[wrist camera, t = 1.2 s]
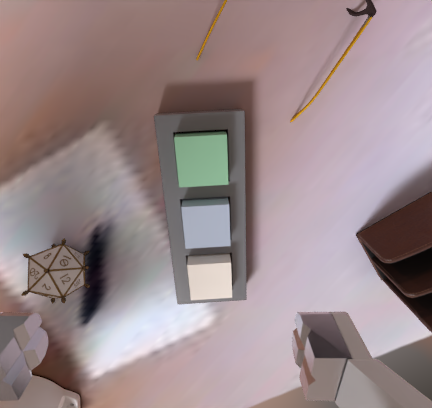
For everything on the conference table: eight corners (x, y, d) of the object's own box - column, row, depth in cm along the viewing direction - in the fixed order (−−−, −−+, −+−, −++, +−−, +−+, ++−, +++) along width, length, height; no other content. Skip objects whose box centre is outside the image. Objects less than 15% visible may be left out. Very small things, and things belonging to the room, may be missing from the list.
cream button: (230, 284, 44) (232, 297, 42) (191, 286, 44) (190, 300, 41) (229, 250, 42) (231, 262, 39) (188, 253, 42) (187, 265, 39)
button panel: (243, 287, 47) (246, 299, 44) (179, 291, 47) (177, 304, 44) (241, 108, 36) (244, 110, 34) (157, 113, 36) (153, 115, 34)
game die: (71, 250, 48) (7, 290, 41) (68, 215, 42) (-8, 254, 35) (109, 284, 45) (47, 333, 38) (110, 252, 39) (38, 302, 32)
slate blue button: (228, 235, 41) (230, 245, 38) (186, 237, 41) (185, 248, 38) (227, 195, 39) (229, 204, 36) (182, 198, 39) (181, 207, 36)
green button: (226, 177, 38) (228, 184, 35) (180, 179, 38) (179, 187, 35) (225, 130, 35) (226, 134, 33) (176, 133, 35) (174, 137, 33)
